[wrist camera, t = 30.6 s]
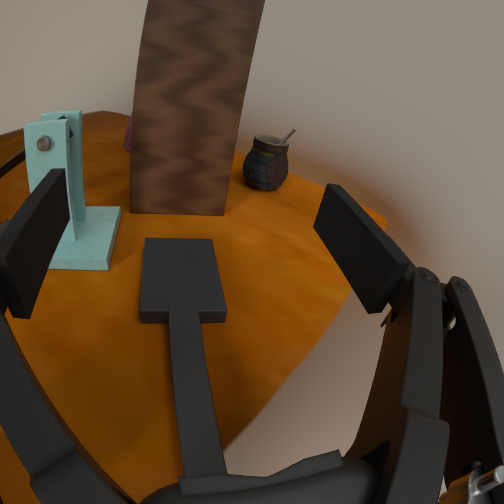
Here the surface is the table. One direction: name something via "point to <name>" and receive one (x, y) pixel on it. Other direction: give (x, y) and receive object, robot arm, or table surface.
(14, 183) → the table surface
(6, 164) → the black knobbed rod
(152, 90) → the shelf block
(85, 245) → the mounting bracket
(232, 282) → the table surface
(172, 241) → the spatula
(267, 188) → the mate gourd
